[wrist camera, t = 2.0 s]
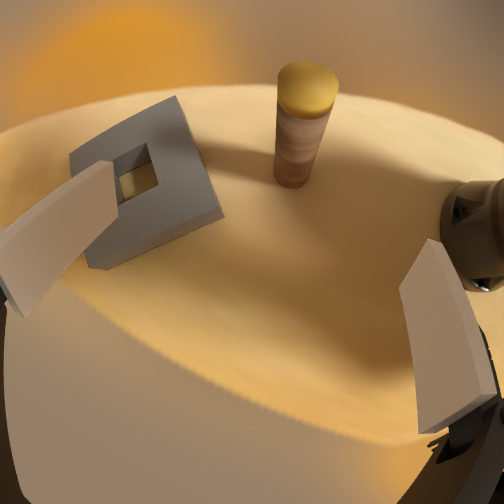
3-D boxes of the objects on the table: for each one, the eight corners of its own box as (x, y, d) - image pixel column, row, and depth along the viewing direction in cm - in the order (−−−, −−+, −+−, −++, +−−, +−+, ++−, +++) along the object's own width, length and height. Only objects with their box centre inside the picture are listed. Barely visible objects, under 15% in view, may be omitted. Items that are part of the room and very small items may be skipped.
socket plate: (224, 216, 31) (218, 207, 27) (106, 270, 31) (88, 267, 27) (183, 112, 33) (175, 95, 29) (84, 164, 33) (69, 154, 29)
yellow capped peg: (314, 181, 31) (349, 95, 15) (282, 193, 31) (294, 109, 15) (299, 152, 31) (319, 56, 15) (268, 163, 31) (267, 68, 16)
